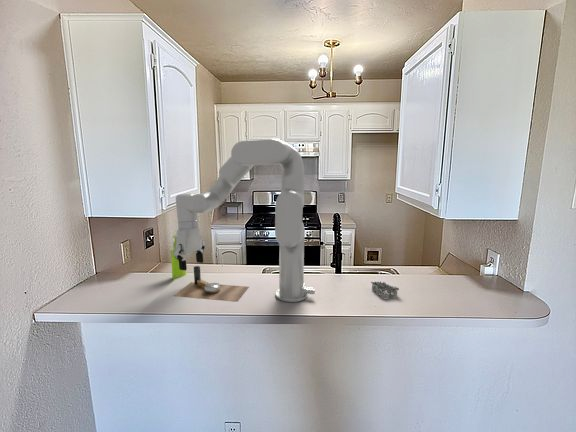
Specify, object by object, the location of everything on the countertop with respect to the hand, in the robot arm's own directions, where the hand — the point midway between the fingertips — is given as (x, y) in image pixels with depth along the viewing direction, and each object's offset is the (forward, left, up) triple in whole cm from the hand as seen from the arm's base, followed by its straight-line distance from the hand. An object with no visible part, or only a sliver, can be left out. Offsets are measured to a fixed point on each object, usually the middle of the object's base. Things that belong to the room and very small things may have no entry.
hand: (191, 266), depth 123 cm
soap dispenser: (+13, -12, -11) cm, 21 cm away
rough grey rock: (-77, -11, -11) cm, 79 cm away
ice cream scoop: (-6, 0, -9) cm, 11 cm away
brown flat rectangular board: (-10, +3, -10) cm, 15 cm away
